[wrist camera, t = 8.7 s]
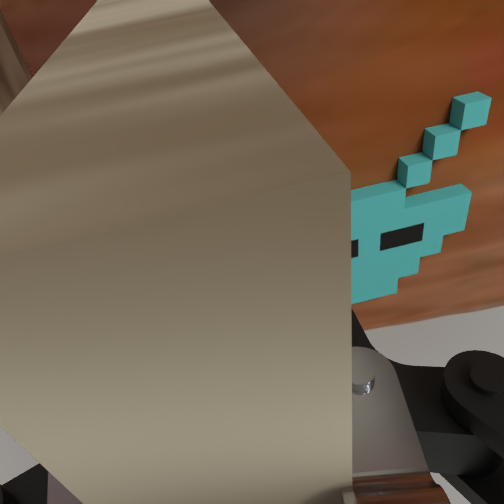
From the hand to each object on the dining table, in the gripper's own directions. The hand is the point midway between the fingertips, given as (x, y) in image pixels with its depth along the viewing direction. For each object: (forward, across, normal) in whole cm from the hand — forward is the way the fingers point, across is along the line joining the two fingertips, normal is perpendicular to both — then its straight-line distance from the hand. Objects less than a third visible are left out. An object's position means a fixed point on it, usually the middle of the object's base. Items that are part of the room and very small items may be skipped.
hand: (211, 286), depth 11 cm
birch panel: (+9, 0, 0) cm, 9 cm away
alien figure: (+24, -14, +17) cm, 33 cm away
